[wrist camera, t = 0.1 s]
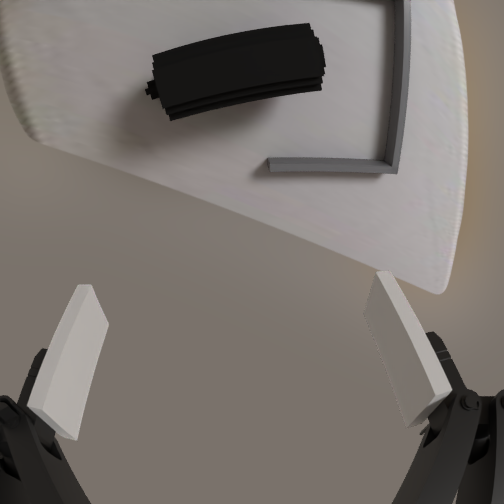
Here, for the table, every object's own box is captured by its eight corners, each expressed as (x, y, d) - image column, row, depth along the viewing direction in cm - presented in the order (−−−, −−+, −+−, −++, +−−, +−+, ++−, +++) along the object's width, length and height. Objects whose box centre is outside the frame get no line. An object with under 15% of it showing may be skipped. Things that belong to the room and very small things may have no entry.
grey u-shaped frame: (266, -25, 24) (268, -31, 22) (401, -4, 25) (410, -6, 23) (267, 165, 39) (269, 171, 37) (389, 167, 39) (397, 174, 37)
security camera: (145, 64, 30) (116, 67, 22) (299, 30, 29) (321, 20, 20) (159, 115, 34) (136, 133, 26) (309, 83, 33) (334, 91, 24)
